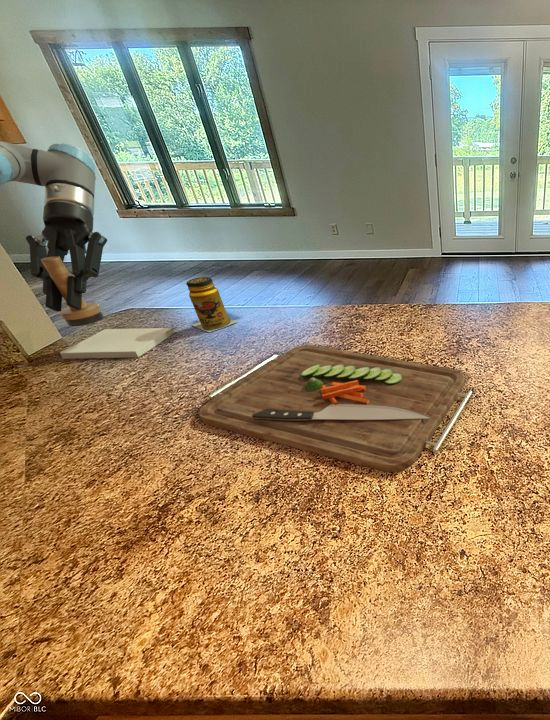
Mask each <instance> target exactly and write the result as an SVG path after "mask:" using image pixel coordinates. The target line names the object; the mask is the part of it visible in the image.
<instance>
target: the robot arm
mask: <svg viewBox="0 0 550 720" xmlns="http://www.w3.org/2000/svg"><path fill="white" fill-rule="evenodd" d="M96 179H97V177H96V163H95V161H94V159H93V157H92V156H91V155H90V154H89V153H88V152H86V151H85V150H84V149H81V148H80V147H77V146H75V145H72V144H68V143H63V142H62V143H60V144H59V143H52V144H51V145H50V146H48V148H47V150H43V149H37V148H31V147H27V146H23V145H18V144H14V143H10V142H6V141H1V140H0V186H1V185H4V184H6V183H10V182H19V183H22V184H29V185H34V186H39V187H44V188H45V191H44V202H43V203H44V205H43V211H42V215H43V216H42V222H43V225H44V228H43V229H42V230H41V234H39V235H36V236H33V235H26V237H25V241H26V242H27V244H28V245H29V260H30V261H29V262H30V275H31V276H32V277H34V278H36V279H37V280H40V281H42V293H43V294H44V295H45V304H44V305H45V306H44V307H45V308H47V309H50V310H52V311H54V312H56V313H58V312H60V311H61V310H62V307H63V306H62V303H63V297H62V295H61V293H60V292H59V290H58V288H57V287H56V285H55V283H54V281H53V280H52V278H51V276H50V275H49V273H48V271H47V270H46V268H45V266H44V265H43V263H42V261H41V259H43V258H47V257H54V256H58V257H60V258H61V260H62V262H63V263H64V261H65V256H68V254H69V257H70V264H71V270H72V271H69V274H70V276H68V284H67V301H66V302H65V304H66V306H67V307H68V306H70V307H72V308H74V309H76V310H80V309H81V305H82V297H83V294H86V293H87V285H88V284H87V281H89V279H91V278H98V277H99V274H100V269H101V262H102V257H103V251H104V247H105V245H106V244H107V242H108V238H107V237H105V235H103V234H102V233H100V232H98V231H94V232H93V230H94V215H95V194H96V193H95V191H96ZM86 244H87V245H86ZM86 246H87V247H86ZM47 249H48V250H47Z"/></svg>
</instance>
